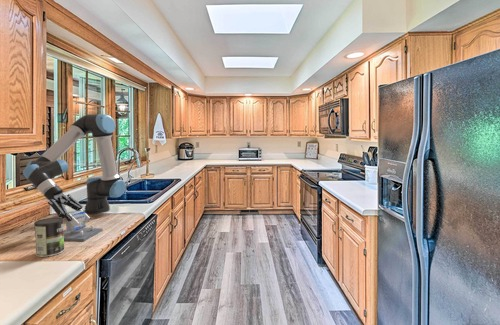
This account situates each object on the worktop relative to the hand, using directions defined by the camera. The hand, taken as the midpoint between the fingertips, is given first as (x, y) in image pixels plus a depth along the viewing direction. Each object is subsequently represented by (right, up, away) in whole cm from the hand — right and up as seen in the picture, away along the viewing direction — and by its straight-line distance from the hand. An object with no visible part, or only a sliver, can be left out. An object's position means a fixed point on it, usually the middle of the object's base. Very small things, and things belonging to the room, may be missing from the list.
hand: (82, 222), depth 147 cm
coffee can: (-1, -9, -21) cm, 23 cm away
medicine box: (-3, -4, 0) cm, 5 cm away
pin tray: (-3, -7, +1) cm, 8 cm away
